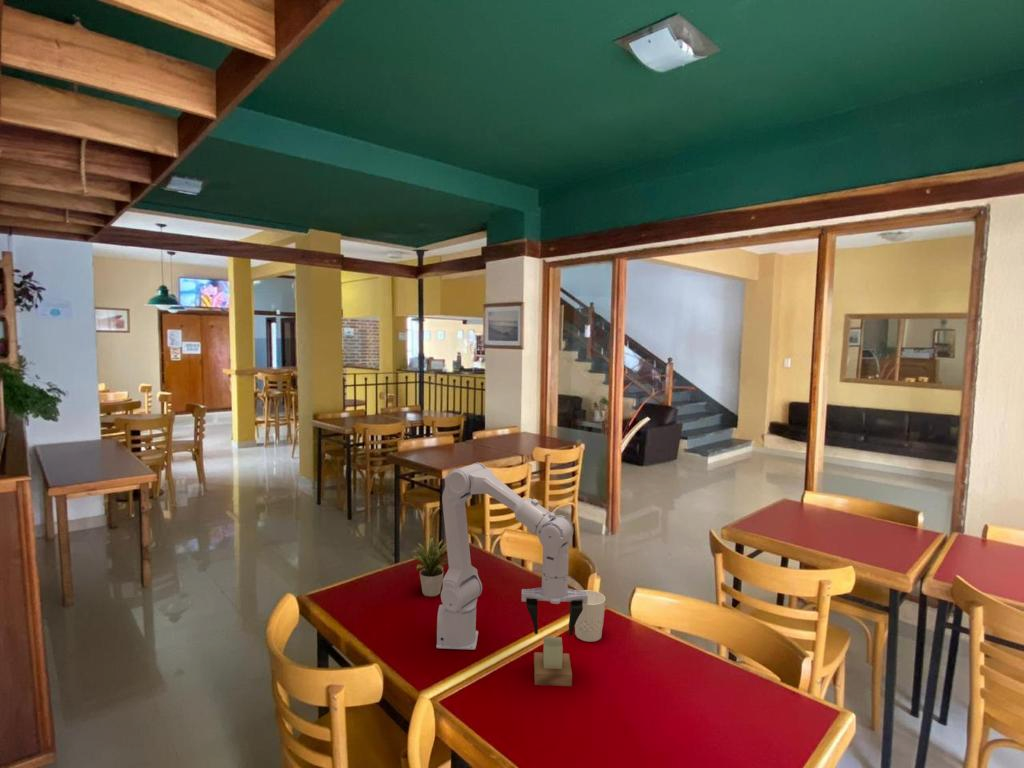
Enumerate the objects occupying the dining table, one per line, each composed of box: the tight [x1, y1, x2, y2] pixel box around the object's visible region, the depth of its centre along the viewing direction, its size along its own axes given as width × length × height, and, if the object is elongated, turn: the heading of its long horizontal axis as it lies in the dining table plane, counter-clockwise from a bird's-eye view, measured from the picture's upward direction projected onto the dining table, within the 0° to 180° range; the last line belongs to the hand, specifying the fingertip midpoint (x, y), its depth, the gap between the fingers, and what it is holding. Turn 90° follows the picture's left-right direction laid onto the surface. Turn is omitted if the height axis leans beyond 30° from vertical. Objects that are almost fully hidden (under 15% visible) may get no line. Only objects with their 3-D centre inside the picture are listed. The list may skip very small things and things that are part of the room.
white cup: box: [574, 589, 606, 643], centre depth 135 cm, size 8×8×10 cm
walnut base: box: [533, 651, 573, 687], centre depth 119 cm, size 8×8×3 cm
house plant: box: [412, 536, 448, 597], centre depth 155 cm, size 14×14×16 cm
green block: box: [542, 636, 564, 669], centre depth 118 cm, size 4×4×5 cm
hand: (553, 632), depth 118 cm, fingers open, 7 cm apart
